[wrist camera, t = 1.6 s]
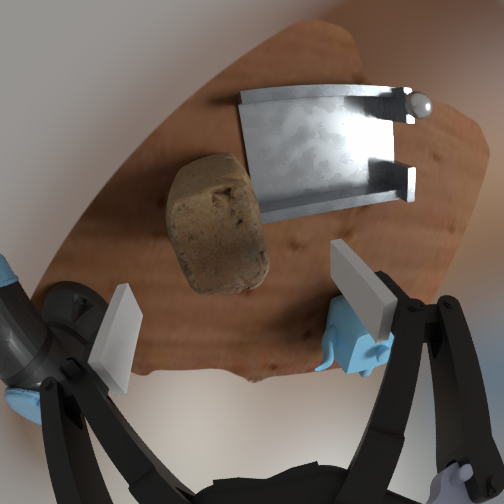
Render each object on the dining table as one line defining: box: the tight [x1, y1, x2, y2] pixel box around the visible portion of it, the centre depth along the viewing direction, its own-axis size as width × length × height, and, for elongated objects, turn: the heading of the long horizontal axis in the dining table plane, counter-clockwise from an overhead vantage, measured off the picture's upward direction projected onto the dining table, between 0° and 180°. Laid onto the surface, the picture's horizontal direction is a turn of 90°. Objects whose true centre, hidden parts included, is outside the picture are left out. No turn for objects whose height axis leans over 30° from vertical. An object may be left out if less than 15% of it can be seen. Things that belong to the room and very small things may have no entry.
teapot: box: [315, 295, 394, 377], centre depth 46 cm, size 18×16×14 cm
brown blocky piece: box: [166, 152, 270, 295], centre depth 28 cm, size 11×8×20 cm
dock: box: [236, 84, 432, 224], centre depth 32 cm, size 25×17×10 cm
